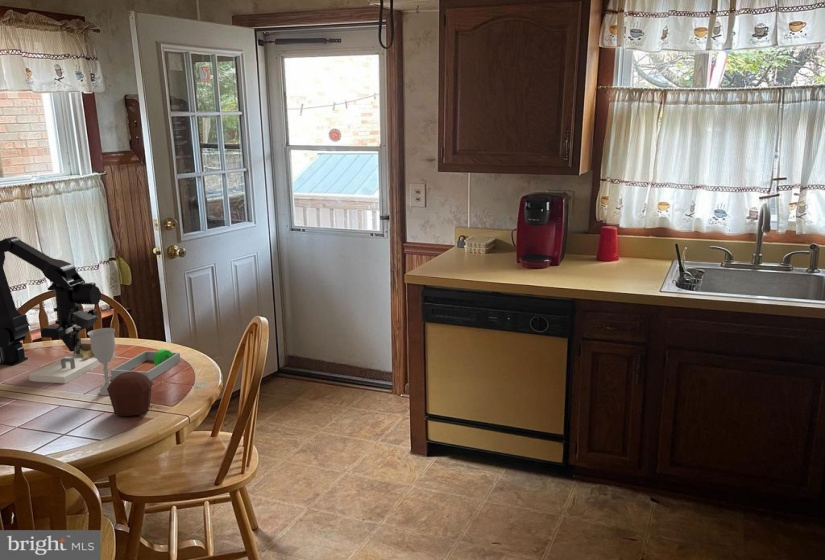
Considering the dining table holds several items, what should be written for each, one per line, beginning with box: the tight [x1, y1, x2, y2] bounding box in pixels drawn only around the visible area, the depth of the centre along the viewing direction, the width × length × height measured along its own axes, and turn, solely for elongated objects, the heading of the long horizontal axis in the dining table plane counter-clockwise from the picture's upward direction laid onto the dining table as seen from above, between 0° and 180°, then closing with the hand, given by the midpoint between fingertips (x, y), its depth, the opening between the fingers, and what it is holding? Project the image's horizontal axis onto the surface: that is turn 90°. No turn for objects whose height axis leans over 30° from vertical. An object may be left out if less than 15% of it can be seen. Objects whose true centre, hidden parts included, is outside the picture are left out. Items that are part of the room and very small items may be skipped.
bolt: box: [75, 336, 94, 358], centre depth 219 cm, size 6×10×6 cm, turn 169°
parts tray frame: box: [110, 350, 181, 381], centre depth 210 cm, size 12×18×3 cm
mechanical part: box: [153, 348, 173, 367], centre depth 214 cm, size 12×6×8 cm, turn 150°
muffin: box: [107, 370, 153, 417], centre depth 180 cm, size 12×11×10 cm
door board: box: [28, 338, 116, 384], centre depth 212 cm, size 12×24×6 cm, turn 169°
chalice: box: [87, 327, 116, 396], centre depth 191 cm, size 7×7×18 cm
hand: (72, 351), depth 215 cm, fingers closed
